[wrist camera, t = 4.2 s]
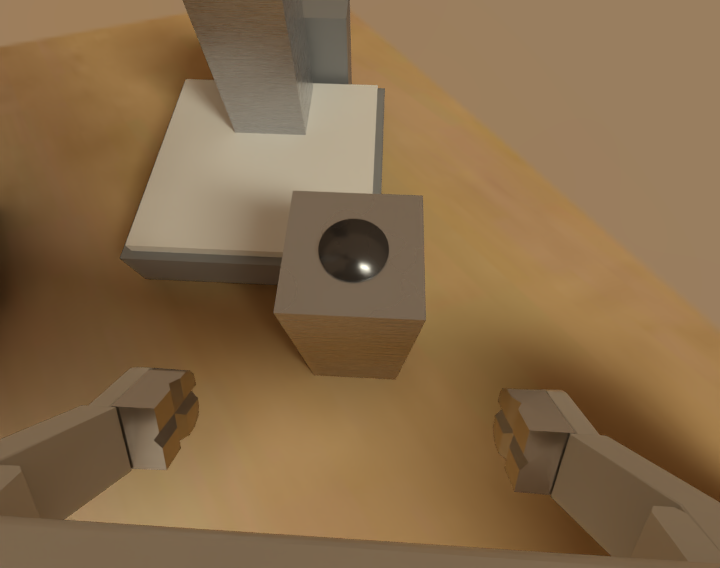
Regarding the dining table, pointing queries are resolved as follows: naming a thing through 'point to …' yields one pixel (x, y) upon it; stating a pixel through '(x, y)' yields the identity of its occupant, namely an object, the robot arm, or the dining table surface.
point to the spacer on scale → (257, 61)
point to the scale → (255, 169)
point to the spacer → (353, 281)
